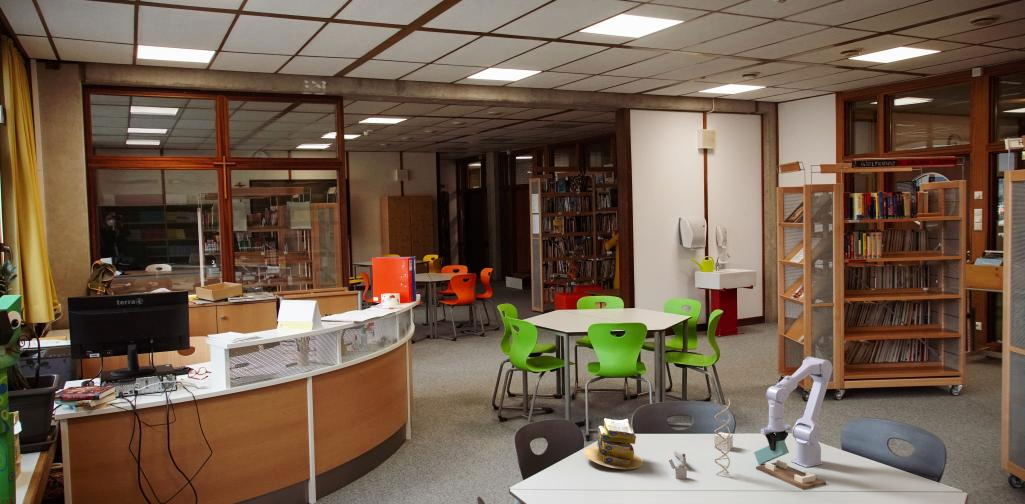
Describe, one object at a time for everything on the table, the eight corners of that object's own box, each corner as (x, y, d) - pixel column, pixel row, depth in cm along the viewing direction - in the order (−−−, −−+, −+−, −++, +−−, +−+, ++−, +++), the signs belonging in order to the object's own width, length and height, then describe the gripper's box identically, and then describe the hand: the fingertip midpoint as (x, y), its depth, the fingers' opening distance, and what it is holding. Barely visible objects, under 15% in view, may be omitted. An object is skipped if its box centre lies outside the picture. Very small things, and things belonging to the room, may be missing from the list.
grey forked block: (685, 477, 278) (685, 457, 277) (686, 478, 276) (686, 458, 276) (667, 477, 278) (667, 457, 278) (668, 478, 276) (668, 458, 276)
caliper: (686, 470, 286) (686, 455, 286) (683, 470, 286) (683, 455, 286) (675, 453, 306) (676, 439, 306) (673, 453, 306) (673, 439, 306)
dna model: (724, 469, 285) (724, 396, 284) (733, 475, 279) (734, 400, 278) (710, 471, 283) (710, 398, 282) (719, 477, 277) (720, 402, 276)
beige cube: (714, 448, 312) (714, 435, 312) (719, 445, 317) (719, 432, 316) (727, 451, 308) (727, 437, 308) (732, 447, 313) (732, 434, 312)
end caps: (778, 464, 288) (778, 460, 288) (815, 480, 271) (815, 475, 271) (765, 467, 285) (765, 462, 285) (802, 483, 268) (802, 478, 268)
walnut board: (778, 464, 291) (778, 461, 291) (825, 484, 269) (826, 481, 269) (756, 468, 286) (756, 466, 286) (802, 489, 264) (802, 486, 264)
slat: (764, 463, 292) (759, 451, 295) (789, 452, 280) (784, 440, 282) (758, 464, 291) (753, 452, 294) (783, 453, 279) (778, 441, 281)
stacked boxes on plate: (645, 454, 305) (645, 416, 304) (640, 474, 281) (640, 433, 280) (589, 449, 312) (589, 412, 311) (579, 469, 288) (578, 428, 287)
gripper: (782, 411, 290) (782, 444, 291) (755, 416, 284) (755, 449, 285) (795, 416, 284) (795, 449, 284) (768, 420, 278) (767, 454, 278)
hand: (776, 449), depth 284 cm, fingers closed on slat, 3 cm apart
